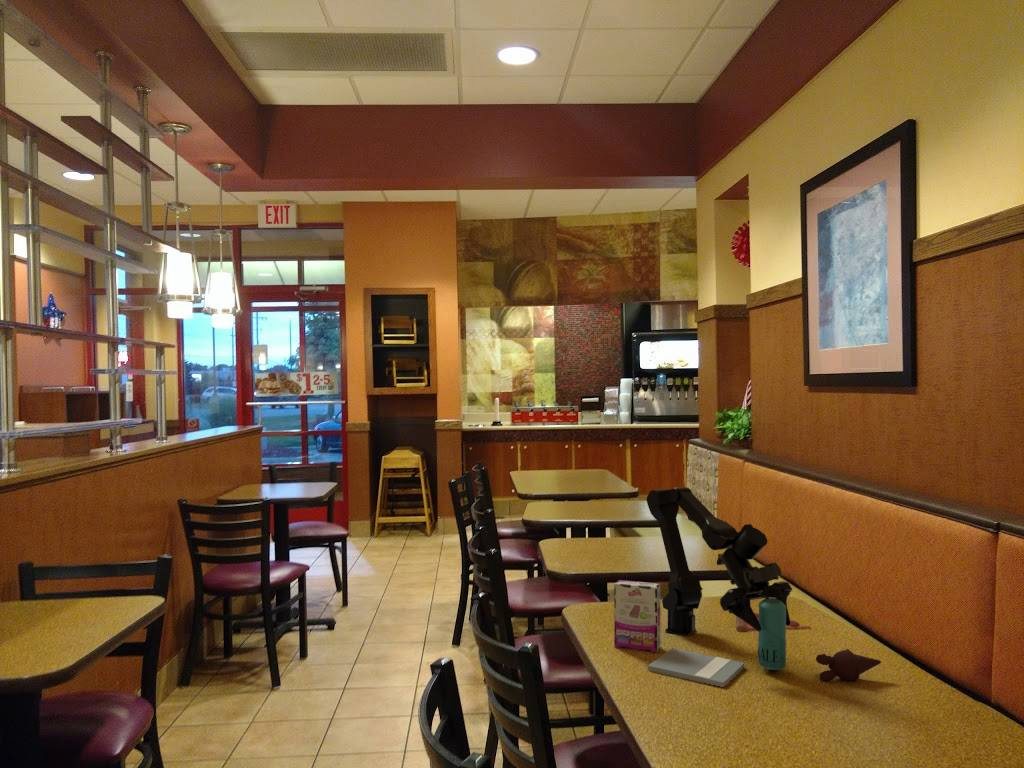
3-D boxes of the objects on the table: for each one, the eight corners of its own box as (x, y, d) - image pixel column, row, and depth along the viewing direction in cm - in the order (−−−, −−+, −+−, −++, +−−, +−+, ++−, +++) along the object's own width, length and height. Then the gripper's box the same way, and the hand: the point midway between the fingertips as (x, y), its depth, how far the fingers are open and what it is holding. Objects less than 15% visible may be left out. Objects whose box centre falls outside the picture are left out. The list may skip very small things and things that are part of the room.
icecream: (869, 644, 181) (807, 651, 180) (885, 646, 174) (821, 653, 173) (875, 675, 180) (813, 682, 179) (892, 679, 173) (828, 686, 171)
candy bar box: (661, 647, 197) (661, 583, 197) (657, 653, 192) (657, 587, 192) (618, 641, 201) (618, 578, 201) (613, 647, 197) (613, 583, 197)
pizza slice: (736, 607, 229) (807, 613, 223) (735, 614, 229) (807, 621, 223) (736, 625, 211) (814, 633, 205) (735, 633, 211) (814, 641, 205)
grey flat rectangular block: (647, 670, 181) (648, 664, 181) (672, 652, 193) (672, 647, 193) (723, 687, 170) (723, 681, 170) (744, 667, 183) (744, 662, 183)
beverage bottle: (782, 667, 184) (783, 583, 184) (789, 677, 177) (790, 590, 177) (754, 665, 184) (755, 582, 184) (760, 676, 178) (761, 589, 178)
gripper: (728, 555, 181) (763, 614, 171) (786, 548, 189) (823, 604, 179) (705, 581, 188) (737, 639, 178) (762, 573, 196) (796, 629, 186)
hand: (774, 627), depth 180 cm, fingers open, 9 cm apart
